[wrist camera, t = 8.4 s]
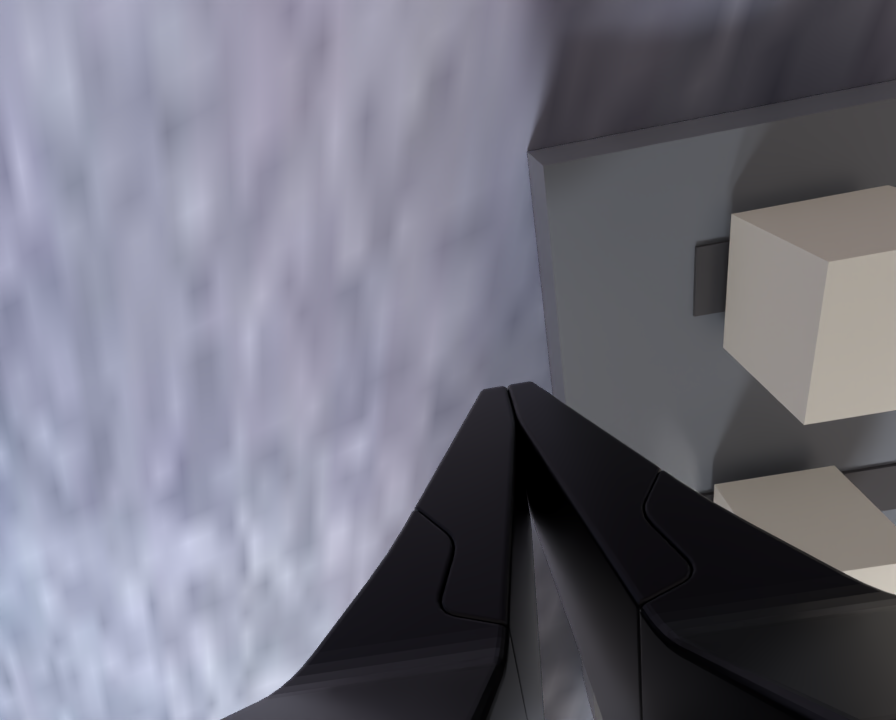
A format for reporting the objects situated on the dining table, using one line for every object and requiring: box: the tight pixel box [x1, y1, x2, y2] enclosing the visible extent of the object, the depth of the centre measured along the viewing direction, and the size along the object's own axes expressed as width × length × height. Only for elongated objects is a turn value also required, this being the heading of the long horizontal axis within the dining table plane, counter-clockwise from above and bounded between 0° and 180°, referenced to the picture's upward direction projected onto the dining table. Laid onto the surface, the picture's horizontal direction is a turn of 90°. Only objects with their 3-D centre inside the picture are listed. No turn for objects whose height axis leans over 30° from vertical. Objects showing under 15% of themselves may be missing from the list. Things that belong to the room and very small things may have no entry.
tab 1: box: [723, 185, 896, 425], centre depth 10 cm, size 3×3×3 cm
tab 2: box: [713, 466, 896, 595], centre depth 13 cm, size 3×3×3 cm
